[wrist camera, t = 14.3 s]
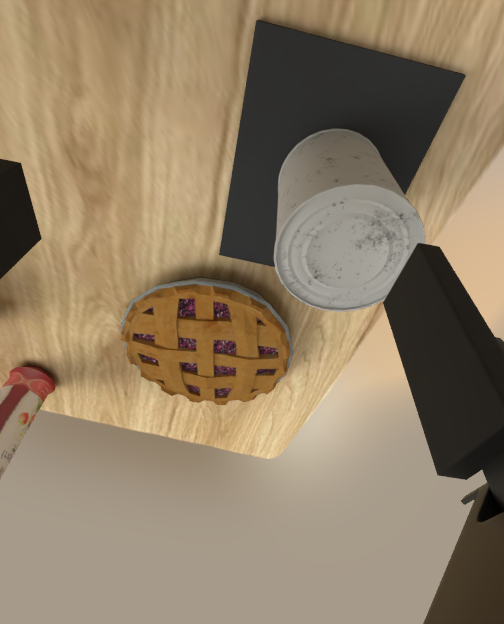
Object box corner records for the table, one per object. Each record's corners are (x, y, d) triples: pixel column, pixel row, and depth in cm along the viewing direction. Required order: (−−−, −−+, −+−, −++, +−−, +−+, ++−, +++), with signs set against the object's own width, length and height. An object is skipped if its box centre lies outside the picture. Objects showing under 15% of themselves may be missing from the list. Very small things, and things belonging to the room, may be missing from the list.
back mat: (256, 19, 25) (256, 19, 25) (463, 73, 26) (466, 75, 26) (220, 252, 38) (219, 255, 38) (358, 281, 39) (359, 284, 39)
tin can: (374, 231, 34) (406, 312, 25) (278, 233, 35) (275, 312, 26) (393, 124, 28) (445, 180, 19) (276, 131, 29) (271, 187, 20)
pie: (151, 380, 55) (141, 408, 51) (108, 263, 40) (89, 289, 37) (290, 386, 53) (290, 414, 49) (296, 265, 38) (297, 292, 35)
